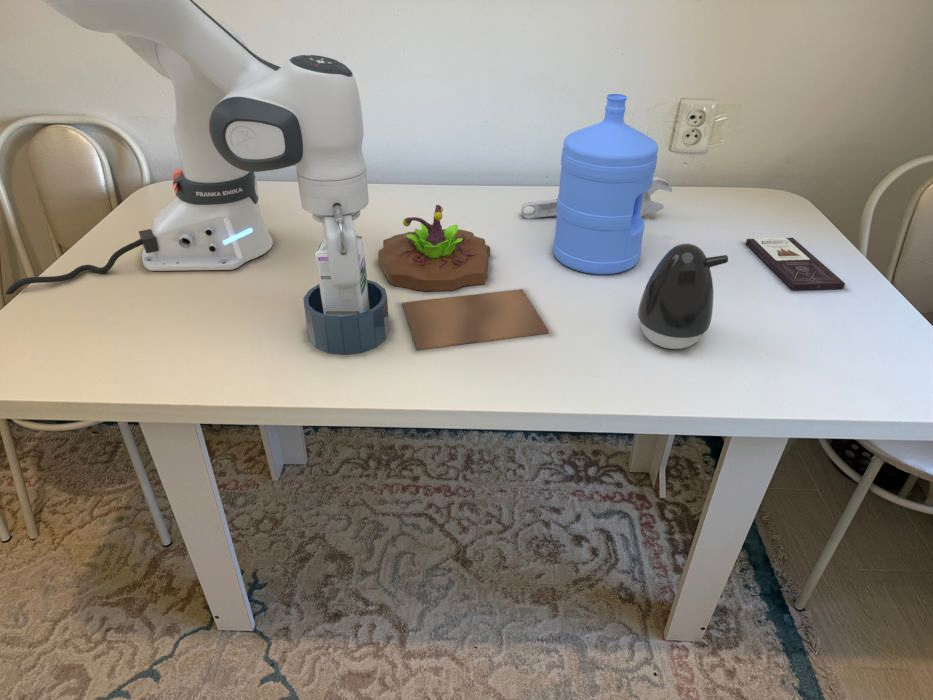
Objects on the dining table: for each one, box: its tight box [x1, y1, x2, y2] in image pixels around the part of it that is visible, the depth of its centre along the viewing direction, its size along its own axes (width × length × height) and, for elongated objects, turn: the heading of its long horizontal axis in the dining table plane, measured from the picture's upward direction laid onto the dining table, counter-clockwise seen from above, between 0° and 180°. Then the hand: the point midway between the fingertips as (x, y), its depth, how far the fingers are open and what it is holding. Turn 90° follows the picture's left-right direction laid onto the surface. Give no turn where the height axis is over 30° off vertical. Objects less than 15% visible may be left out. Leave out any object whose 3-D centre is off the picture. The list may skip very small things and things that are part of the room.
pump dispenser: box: [637, 243, 729, 350], centre depth 94 cm, size 10×10×15 cm
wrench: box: [520, 176, 673, 220], centre depth 134 cm, size 8×2×30 cm
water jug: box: [552, 93, 659, 275], centre depth 113 cm, size 16×16×28 cm
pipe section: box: [303, 279, 390, 356], centre depth 97 cm, size 12×12×6 cm
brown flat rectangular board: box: [401, 288, 550, 351], centre depth 102 cm, size 20×13×1 cm, turn 104°
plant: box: [377, 204, 491, 292], centre depth 114 cm, size 20×20×11 cm
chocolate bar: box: [745, 237, 846, 291], centre depth 118 cm, size 9×1×18 cm
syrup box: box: [314, 235, 370, 317], centre depth 95 cm, size 6×6×14 cm
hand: (343, 284), depth 94 cm, fingers closed on syrup box, 6 cm apart
